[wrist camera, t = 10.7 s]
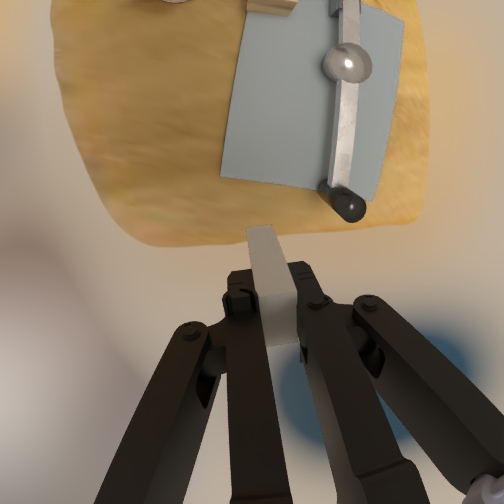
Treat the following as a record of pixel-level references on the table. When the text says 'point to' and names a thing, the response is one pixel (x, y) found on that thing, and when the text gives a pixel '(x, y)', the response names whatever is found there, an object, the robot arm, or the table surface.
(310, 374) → the robot arm
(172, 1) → the mug
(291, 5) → the block
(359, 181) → the base
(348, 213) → the lever
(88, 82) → the table surface
